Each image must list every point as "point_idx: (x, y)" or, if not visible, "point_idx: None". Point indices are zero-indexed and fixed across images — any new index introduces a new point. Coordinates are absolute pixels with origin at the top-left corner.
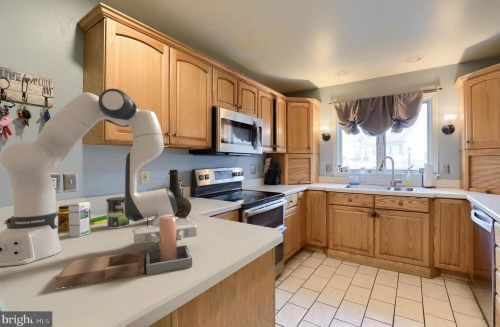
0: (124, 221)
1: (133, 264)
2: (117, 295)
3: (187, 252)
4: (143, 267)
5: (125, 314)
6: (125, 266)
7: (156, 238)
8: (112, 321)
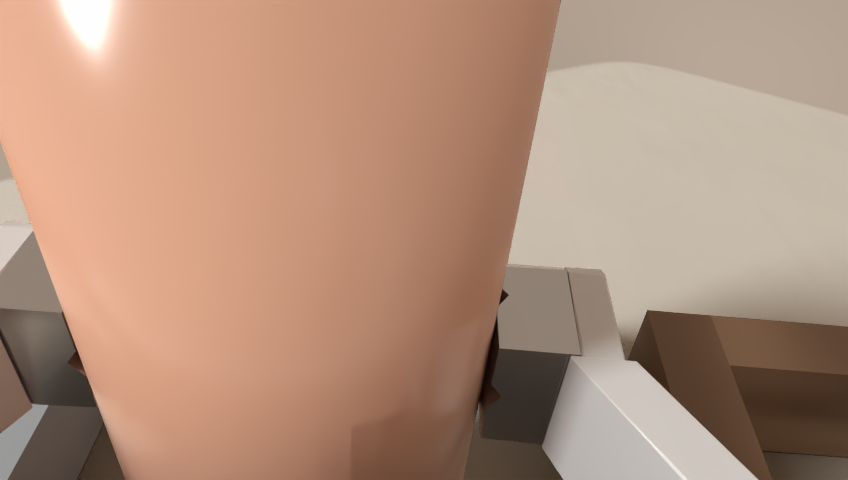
0: None
1: (764, 331)
2: (722, 195)
3: (13, 448)
4: (638, 342)
5: (616, 77)
6: (840, 328)
7: (564, 270)
8: (656, 67)
